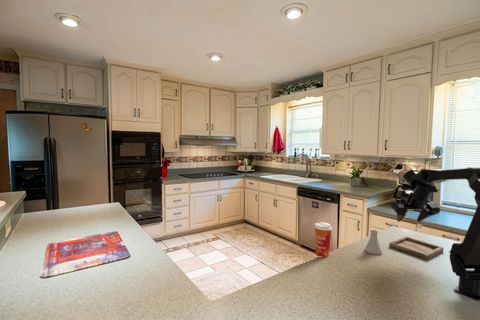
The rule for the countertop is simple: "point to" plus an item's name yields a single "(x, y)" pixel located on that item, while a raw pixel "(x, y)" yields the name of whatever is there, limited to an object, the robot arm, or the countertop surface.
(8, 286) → the countertop surface
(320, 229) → the paper cup
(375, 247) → the flask
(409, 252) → the walnut tray
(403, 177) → the robot arm
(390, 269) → the countertop surface
